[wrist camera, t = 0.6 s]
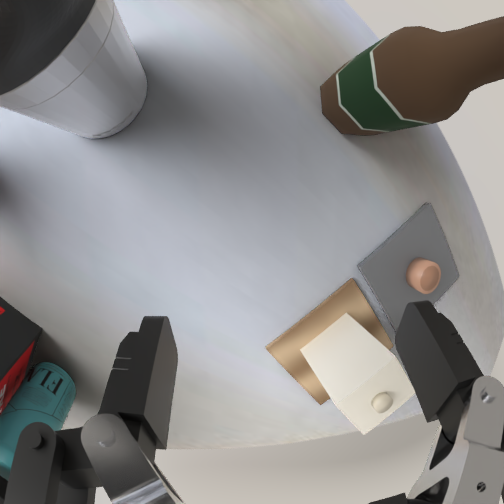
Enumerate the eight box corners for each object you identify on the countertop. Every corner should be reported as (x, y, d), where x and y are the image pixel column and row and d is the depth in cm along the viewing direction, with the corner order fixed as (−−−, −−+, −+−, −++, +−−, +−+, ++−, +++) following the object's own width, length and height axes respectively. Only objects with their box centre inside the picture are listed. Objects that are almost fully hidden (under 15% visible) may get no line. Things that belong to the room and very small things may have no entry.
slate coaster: (357, 265, 33) (360, 267, 32) (426, 202, 33) (430, 203, 32) (396, 334, 36) (400, 336, 36) (455, 274, 36) (459, 276, 36)
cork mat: (265, 346, 33) (266, 349, 33) (351, 278, 33) (353, 279, 33) (318, 402, 36) (320, 405, 36) (391, 344, 37) (393, 346, 36)
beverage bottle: (80, 361, 30) (16, 498, 11) (82, 403, 31) (38, 532, 12) (32, 347, 29) (-50, 461, 9) (37, 389, 30) (-23, 503, 10)
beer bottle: (390, 126, 30) (587, 100, 7) (335, 149, 30) (558, 122, 7) (362, 64, 28) (536, -21, 5) (303, 80, 28) (481, -45, 5)
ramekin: (402, 267, 33) (415, 273, 31) (424, 251, 34) (437, 256, 31) (409, 293, 34) (421, 300, 32) (431, 277, 35) (443, 283, 32)
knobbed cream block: (299, 349, 33) (339, 412, 23) (346, 312, 33) (402, 361, 23) (327, 381, 35) (368, 441, 24) (369, 347, 35) (421, 398, 24)
